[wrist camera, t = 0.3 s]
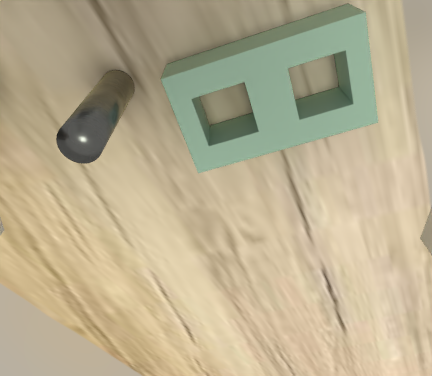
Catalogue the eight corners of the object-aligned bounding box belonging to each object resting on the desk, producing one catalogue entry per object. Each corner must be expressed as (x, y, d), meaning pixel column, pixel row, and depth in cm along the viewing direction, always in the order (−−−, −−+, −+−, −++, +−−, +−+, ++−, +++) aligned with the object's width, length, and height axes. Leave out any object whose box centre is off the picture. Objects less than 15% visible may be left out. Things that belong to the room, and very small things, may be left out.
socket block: (166, 64, 35) (160, 79, 32) (348, 3, 33) (365, 12, 29) (200, 150, 40) (198, 173, 36) (361, 103, 37) (378, 122, 33)
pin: (95, 75, 36) (47, 129, 26) (126, 65, 35) (89, 116, 25) (110, 106, 37) (70, 168, 27) (139, 96, 37) (110, 156, 27)
